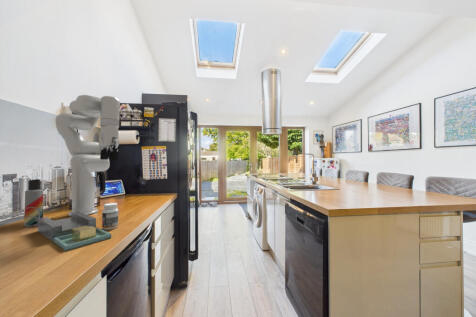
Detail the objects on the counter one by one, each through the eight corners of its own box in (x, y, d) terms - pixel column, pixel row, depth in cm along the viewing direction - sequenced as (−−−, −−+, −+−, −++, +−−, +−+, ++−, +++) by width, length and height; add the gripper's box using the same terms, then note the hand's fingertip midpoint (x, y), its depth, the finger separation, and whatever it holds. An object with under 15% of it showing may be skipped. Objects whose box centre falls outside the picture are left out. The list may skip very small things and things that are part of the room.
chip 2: (76, 229, 68) (80, 231, 66) (91, 226, 72) (95, 227, 70) (76, 241, 68) (79, 243, 66) (91, 237, 72) (95, 239, 70)
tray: (53, 242, 68) (53, 237, 68) (97, 231, 79) (97, 227, 79) (65, 251, 61) (65, 246, 61) (111, 237, 72) (111, 233, 72)
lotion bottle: (30, 227, 83) (31, 179, 84) (20, 226, 85) (21, 179, 85) (46, 223, 89) (47, 178, 89) (36, 222, 90) (37, 178, 90)
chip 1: (71, 238, 70) (71, 228, 70) (86, 234, 74) (87, 225, 74) (75, 241, 68) (75, 231, 68) (91, 237, 72) (91, 227, 72)
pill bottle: (101, 227, 84) (102, 203, 84) (117, 224, 87) (117, 202, 87) (102, 231, 79) (102, 206, 79) (119, 228, 82) (119, 204, 83)
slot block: (37, 231, 79) (38, 218, 79) (77, 222, 90) (78, 211, 90) (52, 241, 69) (52, 227, 69) (95, 230, 79) (96, 218, 79)
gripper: (93, 123, 96) (91, 159, 96) (109, 120, 86) (107, 160, 86) (110, 125, 102) (109, 159, 102) (127, 123, 92) (125, 160, 92)
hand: (108, 159), depth 94 cm, fingers open, 9 cm apart
